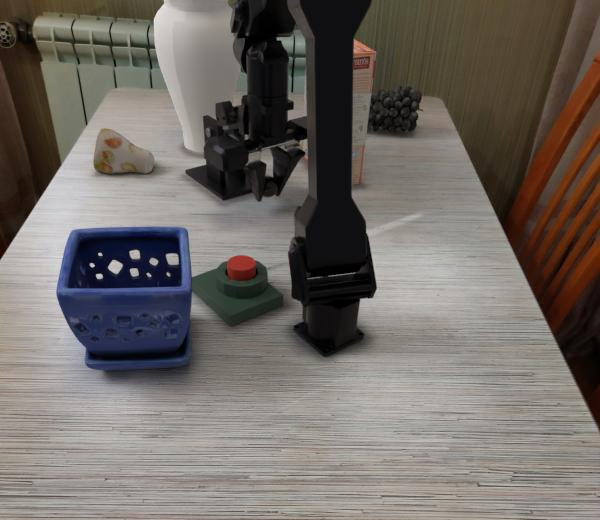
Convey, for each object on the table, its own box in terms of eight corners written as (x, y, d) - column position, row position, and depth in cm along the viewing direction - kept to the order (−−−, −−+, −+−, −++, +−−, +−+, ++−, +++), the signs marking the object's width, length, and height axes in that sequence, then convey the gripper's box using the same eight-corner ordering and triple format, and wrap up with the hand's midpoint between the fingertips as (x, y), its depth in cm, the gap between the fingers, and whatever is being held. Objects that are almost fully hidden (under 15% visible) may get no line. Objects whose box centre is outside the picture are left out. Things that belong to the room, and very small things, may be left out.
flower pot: (198, 308, 77) (189, 222, 68) (200, 378, 67) (191, 288, 59) (90, 314, 75) (68, 226, 67) (77, 386, 66) (50, 294, 57)
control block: (284, 304, 78) (285, 281, 76) (231, 327, 74) (229, 303, 72) (242, 270, 83) (241, 247, 81) (189, 288, 80) (187, 265, 77)
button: (261, 276, 77) (261, 264, 76) (237, 285, 75) (237, 273, 74) (245, 264, 79) (245, 252, 78) (222, 272, 77) (221, 260, 76)
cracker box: (362, 186, 104) (378, 50, 89) (330, 191, 102) (341, 53, 87) (330, 154, 113) (339, 26, 98) (300, 158, 111) (305, 28, 97)
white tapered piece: (157, 183, 102) (118, 134, 94) (113, 200, 106) (72, 155, 98) (166, 155, 106) (129, 106, 98) (123, 173, 110) (84, 127, 102)
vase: (153, 140, 114) (129, -49, 94) (222, 127, 120) (213, -53, 100) (187, 169, 106) (169, -31, 85) (259, 153, 112) (258, -38, 92)
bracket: (268, 190, 101) (268, 123, 94) (223, 203, 97) (219, 135, 90) (229, 164, 108) (227, 101, 100) (185, 176, 104) (179, 110, 96)
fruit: (349, 82, 115) (428, 85, 114) (348, 84, 122) (423, 87, 122) (345, 132, 119) (422, 135, 118) (345, 130, 126) (417, 134, 126)
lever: (279, 199, 95) (284, 183, 92) (262, 204, 93) (266, 188, 91) (226, 129, 99) (229, 112, 96) (209, 133, 97) (212, 116, 95)
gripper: (287, 65, 92) (285, 166, 103) (179, 85, 84) (189, 192, 94) (333, 86, 86) (326, 190, 97) (222, 110, 77) (227, 221, 88)
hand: (267, 197), depth 94 cm, fingers closed on lever, 3 cm apart
